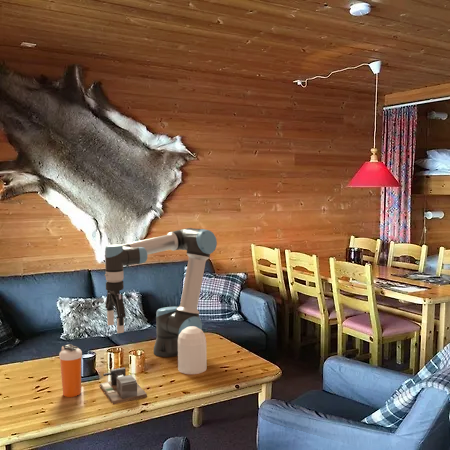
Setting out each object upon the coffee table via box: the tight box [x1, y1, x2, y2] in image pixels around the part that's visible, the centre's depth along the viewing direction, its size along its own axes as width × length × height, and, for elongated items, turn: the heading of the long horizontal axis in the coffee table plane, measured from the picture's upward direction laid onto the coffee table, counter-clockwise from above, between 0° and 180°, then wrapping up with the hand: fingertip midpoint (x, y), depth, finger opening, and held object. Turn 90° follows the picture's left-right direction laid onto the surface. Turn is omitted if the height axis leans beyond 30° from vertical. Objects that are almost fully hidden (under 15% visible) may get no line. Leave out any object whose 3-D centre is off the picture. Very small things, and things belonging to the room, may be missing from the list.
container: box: [177, 326, 208, 375], centre depth 235 cm, size 13×13×20 cm
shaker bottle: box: [58, 343, 83, 398], centre depth 208 cm, size 9×9×20 cm
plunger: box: [102, 367, 127, 385], centre depth 211 cm, size 9×9×6 cm
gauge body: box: [99, 374, 148, 405], centre depth 210 cm, size 20×14×7 cm
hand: (115, 328), depth 221 cm, fingers open, 13 cm apart
